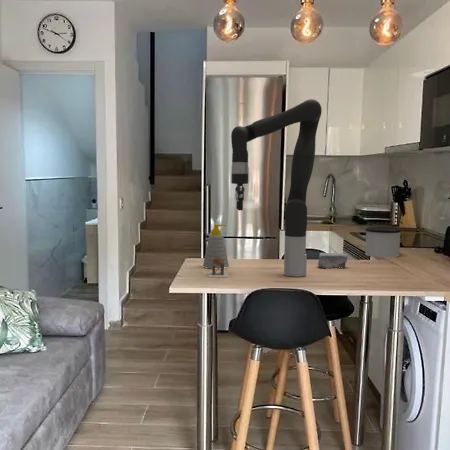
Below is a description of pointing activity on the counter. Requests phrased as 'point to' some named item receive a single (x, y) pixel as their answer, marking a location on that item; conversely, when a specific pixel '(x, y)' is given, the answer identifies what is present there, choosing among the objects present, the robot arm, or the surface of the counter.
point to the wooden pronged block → (218, 264)
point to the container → (382, 241)
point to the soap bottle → (215, 248)
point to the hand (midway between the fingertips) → (239, 209)
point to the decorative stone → (332, 260)
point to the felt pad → (218, 274)
